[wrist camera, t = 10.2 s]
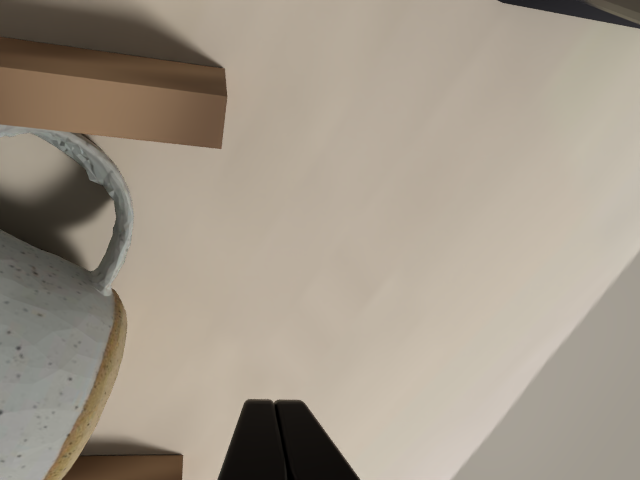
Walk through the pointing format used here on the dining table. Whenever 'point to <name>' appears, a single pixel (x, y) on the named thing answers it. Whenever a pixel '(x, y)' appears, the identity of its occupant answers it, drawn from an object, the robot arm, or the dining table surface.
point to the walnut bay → (114, 121)
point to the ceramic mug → (59, 333)
